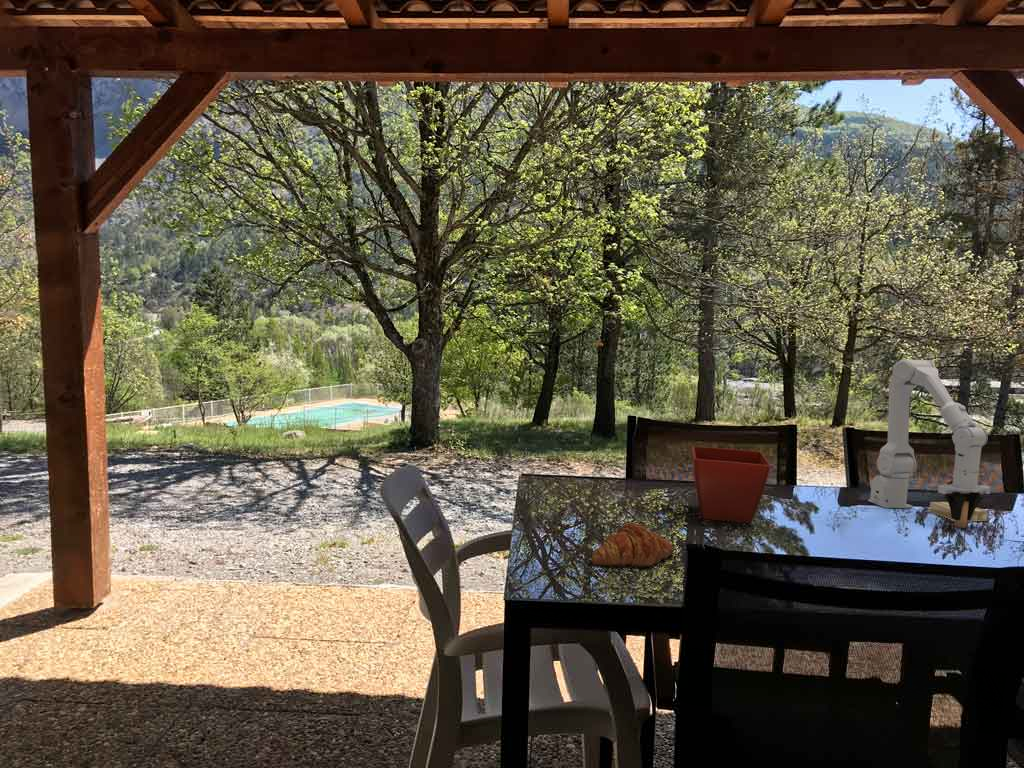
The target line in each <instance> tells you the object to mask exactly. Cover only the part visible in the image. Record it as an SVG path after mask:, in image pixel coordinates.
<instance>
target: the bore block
mask: <svg viewBox="0 0 1024 768" xmlns="http://www.w3.org/2000/svg"><path fill="white" fill-rule="evenodd" d="M928 512H929V513H930V512H931V513H930V514H933V513H934V515H936V514H937V515H936V516H938V515H940V516H939V517H941V516H943V517H942V518H944V517H945V518H944V519H946V518H948V519H947V520H949V519H950V521H952V522H954V521H955V519H952V516H951V510H950V506H949V503H948V501H930V502H929V511H928ZM988 514H989V513H988V510H985V509H982V508H979V507H976V509H975V511H974V513H973V515H972V517H971V520H967V523H973V522H972V521H987V519H988Z"/></svg>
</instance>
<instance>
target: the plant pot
mask: <svg viewBox="0 0 1024 768" xmlns="http://www.w3.org/2000/svg"><path fill="white" fill-rule="evenodd" d="M691 454H692V455H691V456H692V469H693V478H694V485H695V491H696V498H697V504H698V509H699V513H700V517H701V518H702V519H705V520H715V521H722V522H723V521H724V522H734V523H742V522H745V524H751V523H752V521H753V519H754V516H755V515H756V512H757V510H758V509H759V508H758V507H759V505H760V503H761V501H762V497H763V494H764V491H765V488H766V484H767V482H768V478H769V474H770V469H771V463H770V462H769V461H768V459H767V458H766V457H765V455H764V453H763V452H761V451H759V450H758V451H757V450H746V449H737V448H736V449H734V448H733V449H732V448H724V447H722V448H721V447H712V446H711V447H708V446H699V445H697V446H696V445H694V446H692V447H691ZM750 522H751V523H750Z"/></svg>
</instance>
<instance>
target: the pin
mask: <svg viewBox="0 0 1024 768" xmlns="http://www.w3.org/2000/svg"><path fill="white" fill-rule="evenodd" d="M968 507H969V502H968V501H965V502H964V504H963V507H962V511H961V517H960V520H955V522H954V524H953V525H955V526H954V527H956V526H957V527H956V528H961V529H966V528H967V524H968V522H967V516H968Z"/></svg>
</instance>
